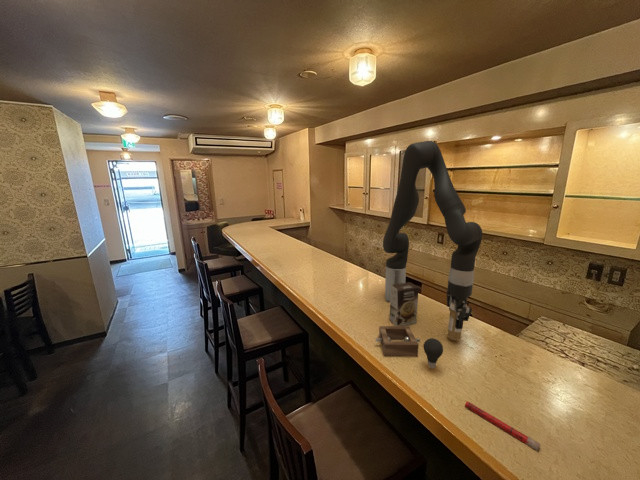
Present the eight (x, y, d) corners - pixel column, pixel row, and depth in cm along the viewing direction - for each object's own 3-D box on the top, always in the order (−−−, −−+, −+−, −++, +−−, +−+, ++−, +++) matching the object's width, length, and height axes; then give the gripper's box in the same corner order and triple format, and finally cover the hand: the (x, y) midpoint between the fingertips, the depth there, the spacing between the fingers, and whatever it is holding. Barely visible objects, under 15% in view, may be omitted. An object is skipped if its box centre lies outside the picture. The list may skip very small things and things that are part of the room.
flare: (537, 453, 56) (539, 447, 56) (464, 408, 67) (465, 403, 67) (539, 448, 57) (540, 442, 57) (467, 405, 68) (467, 399, 68)
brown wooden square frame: (379, 336, 98) (379, 325, 97) (408, 336, 97) (409, 326, 96) (384, 356, 87) (384, 344, 86) (417, 356, 86) (418, 344, 85)
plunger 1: (375, 340, 93) (375, 334, 93) (390, 340, 93) (390, 334, 93) (376, 344, 91) (376, 338, 91) (391, 344, 91) (391, 339, 90)
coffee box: (397, 327, 103) (399, 290, 99) (389, 319, 109) (390, 284, 105) (417, 323, 105) (419, 287, 101) (407, 315, 111) (409, 281, 108)
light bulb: (425, 358, 85) (427, 332, 83) (443, 366, 82) (446, 338, 79) (419, 368, 81) (421, 340, 79) (438, 376, 78) (441, 348, 75)
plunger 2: (403, 340, 93) (403, 335, 92) (418, 340, 92) (418, 335, 92) (404, 345, 90) (405, 339, 90) (420, 345, 90) (420, 339, 90)
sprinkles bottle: (460, 342, 91) (465, 308, 87) (446, 338, 93) (450, 305, 90) (461, 335, 95) (465, 302, 91) (447, 332, 97) (450, 299, 93)
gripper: (440, 272, 95) (437, 313, 100) (459, 289, 81) (453, 336, 86) (461, 272, 95) (456, 313, 99) (483, 289, 81) (476, 336, 85)
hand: (455, 324), depth 92 cm, fingers closed on sprinkles bottle, 4 cm apart
